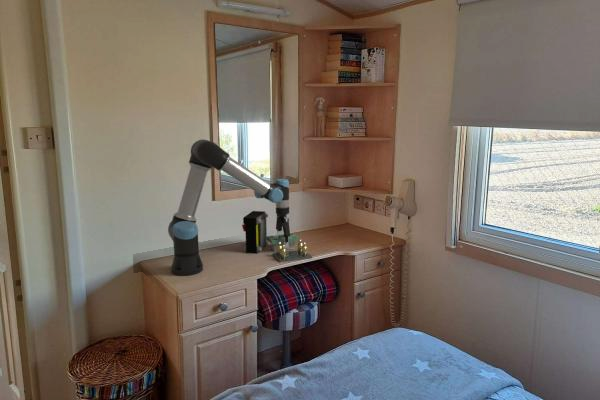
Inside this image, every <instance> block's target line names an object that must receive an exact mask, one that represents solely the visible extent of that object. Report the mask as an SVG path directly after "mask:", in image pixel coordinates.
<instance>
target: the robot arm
mask: <svg viewBox="0 0 600 400" xmlns="http://www.w3.org/2000/svg"><path fill="white" fill-rule="evenodd" d="M189 157H190V158H189V161H188V164H189V166H190V168H189V172H188V175H187V178H186V183H185V186H184V189H183V193H182V196H181V200H180V203H179V206H178V211H177V212H175V213H173V216H172V220H171V221H170V222H169V225H168V229H167V232H168V236H169V237H170V238H171V240H172V242H173V254H174V255H173V260H172V263H171V268H170V269H171V273H172V274H173V275H175V276H183V277H184V276H193V275H196V274H199V273H201V272H203V270H204V264H203V261H202V259H201V258H202V257H201V256H200V253H199V252H200V251H199V250H200V249H199V228H198V225H197V218H196V212H197V210H198V206H199V201H200V199H201V195H202V192H203V188H204V184H205V181H206V178H207V174H208V172H209V171H211V170H212V168H213V169H215V170H216V171H222V172H224V173H225V174H227V175H228V176H230V177H232V178H234V179H235V180H236V181H238V182H240V183H241V184H243V185H244V186H246V187H248V188H249V189H250V190H252V191H253V193H254V197H255V198H256V199H265V200H268V201H269V202H271V203H274V204H275V214H276V224H275V229H276V233H277V234H276V235H283V234H284V236H283V237H284V248H289V236H290V234H291V232H290V218H288V217H287V215H288V214H290V202H291V200H290V181H289V179H287V178H278V179H275V182H272V183H270V182H268V181H266V180H265V179H264V178H262V177H261V176H260V175H257V174H256V173H254V172H253V171H252V170H250V169H249V168H247V167H246V166H244V165H243V164H241V163H239V162H238V161H237V160H235V159H233V158H232V156H230V154H229V153H228V152H227V151H225V150H224V149H223V148H221V146H219V145H218V144H217V143H215V142H214V141H212V140H207V139H198V140H197V141H195V142H194V143H193V144H192V145H191V147H190V156H189Z"/></svg>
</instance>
